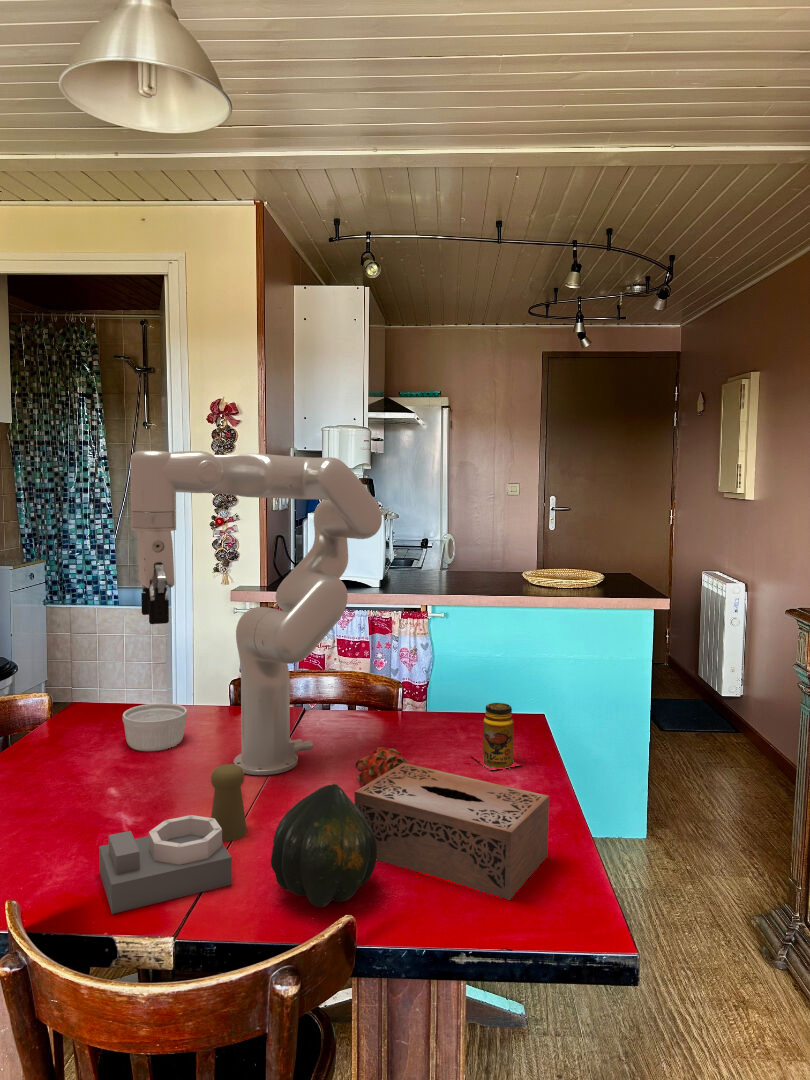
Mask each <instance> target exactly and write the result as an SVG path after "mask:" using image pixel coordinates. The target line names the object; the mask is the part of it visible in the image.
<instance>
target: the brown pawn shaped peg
mask: <svg viewBox="0 0 810 1080" xmlns="http://www.w3.org/2000/svg"><path fill="white" fill-rule="evenodd" d="M210 777H211V778H210V779H211V780H210V782H211V785H212V787H213V788H214V790H213V793H214V794H213V799H212V801H213V802H212V808H211V817H210V818H215V820H216V821H217V823H218V824H219V825H220V827H221V828H222V843H223V842H224V843H225V842H227V843H228V842H233V841H237V839H238V840H240V839H242V838H243V837H245V836H246V835H247V833H248V830H247V829H248V827H247V821H246V814H245V807H244V800H243V794H242V793H243V792H242V787H241V786H242V785H243V784H244V780H245V773H244V772H243V770H242V768H241V767H240V766H238V765H235V764H234V763H225V764H221V765H219V766H217V767H215V768H214V769H213V770H212V772H211V776H210Z"/></svg>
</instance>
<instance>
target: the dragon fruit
mask: <svg viewBox="0 0 810 1080" xmlns="http://www.w3.org/2000/svg"><path fill="white" fill-rule="evenodd" d="M376 749H377V750H376ZM376 749H375V750H374V751H373V752H372V754H369V755H367V756H364V757H362V758H360V759H358V760H357V761H356V762H355V765H354V766H355V769H357V771H358V772H361V773H359V774H357V773H356V779H357V783H359V784H362V783H364V784H365V785H367V784H368V783H370V782H372V781H373V780H375V779H377V778H378V777H380V776H382V775H383V774H385V773H387V772H388V771H390V770H392V769H393V768H395V767H397V766H398V765H400V764H402V763H403V762H404V763H408V764H410V762H408V760H407V758H405V757H403V755H402V753H401V752H399V751H398V750H397V749H394V748H388V747H377V748H376Z"/></svg>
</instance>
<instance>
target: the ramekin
mask: <svg viewBox="0 0 810 1080" xmlns="http://www.w3.org/2000/svg"><path fill="white" fill-rule="evenodd" d="M187 717H188V710H187V708H186V707H185V706H183V705H180V704H176V703H167V702H166V703H165V702H156V703H155V702H154V703H149V704H148V703H145V704H141V705H138V706H137V705H136V706H133V707H130V708H129V709H126V710H125V711H124V712H123V714H122V722H123V727H124V733H125V740H126V742H127V745H128V747H130V748H131V749H132V750H134V751H135V750H136V751H140V752H158V751H165V750H169V749H171V747H172V748H174V747H176V746H178V745H180V743H181V742H182V740H183V738H184V735H185V731H186V728H185V727H186V719H187ZM177 744H178V745H177ZM168 748H169V749H168Z"/></svg>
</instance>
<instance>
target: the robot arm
mask: <svg viewBox="0 0 810 1080" xmlns="http://www.w3.org/2000/svg"><path fill="white" fill-rule="evenodd" d="M129 465H130V467H129V469H130V526H131V528H130V529H131V531H134V532H137V537H138V538H137V552H138V553H137V554H138V555H137V557H138V558H137V559H138V575H139V577H138V579H139V582H140V583H141V584H142V586H141V587H142V588H141V590H142V591H141V596H140V597H141V604H140V605H141V614H142V615H143V616H148V623H149V624H150V625H163V624H165V625H166V624H168V623H169V622H170V605H169V603H170V601H169V591H168V587H169V588H173V587H174V586H175V584H176V583H175V566H174V565H175V564H174V561H175V560H174V548H173V547H174V546H173V545H174V544H173V535H172V531H174V532H175V531H177V493H190V494H216V495H217V494H220V495H221V494H222V495H231V496H238V497H243V498H260V499H289V500H290V499H293V500H322V501H320V502H319V503H318V504H317V506H316V507H315V510H314V512H313V526H314V540H313V544H312V547H311V548H310V549H309V551H308V552H307V553H306V555H305V556H304V557H303V559H301V560H300V562H299V563H298V564H296V566H295V567H294V568H293V569H292V570H291V571H290V572H289V573H288V575H286V576H285V578H283V580H282V581H281V583H280V584H279V586H278V587H277V589H276V593H275V601H276V604H277V605H278V608H280V609H277V608H272V607H267V606H259V607H253V608H251V609H248V610H246V612H244V613H243V614H242V615H241V617H240V618H239V620H238V622H237V624H236V629H235V640H236V646H237V647H236V648H237V651H238V658H239V663H240V664H239V665H240V666H239V667H240V705H241V706H240V707H241V711H240V712H241V713H240V716H241V717H240V719H241V720H240V722H241V729H240V730H241V731H240V734H241V752H240V753H239V754H238V755H236V756H235V758H234V759H233V764H235V765H238V766H240V767H241V768H242V770H243V772H244V775H245V774H246V775H251V776H271V775H277V774H282V773H285V772H289V771H291V770H292V769H294V768H295V767H296V766H297V765H298V760H299V759H298V758H299V757H298V754H299V752H306V751H312V750H313V749H314V743H313V740H312V739H310V740H304V741H303V739H302V738H300V739H294V740H293V739H291V737H290V734H291V733H290V729H291V728H290V724H291V723H290V722H291V721H290V720H291V719H290V718H291V717H290V711H291V710H290V698H291V697H290V696H291V695H290V690H291V689H290V688H291V686H290V685H291V684H290V683H291V681H290V680H291V679H290V670H289V665H290V664H297V663H299V662H301V661H303V660H305V659H306V658H307V657H308V656H310V655H311V654H312V653H313V651H314V650H315V649H316V648H317V647H318V646H319V644H320V643H322V641H323V640H324V638H325V637H326V636H327V635H328V634H329V633H330V631H331V630H332V629H333V628H334V627H335V626H336V625H337V623H338V622H339V621H340V619H341V618H342V617H343V615H344V613H345V610H346V608H347V604H348V599H349V598H348V597H349V596H348V589H347V587H346V585H345V583H344V582H343V581H342V580H341V579H340V578H341V577H342V576H343V575H344V573H345V571H346V569H347V567H348V564H349V548H348V547H349V544H348V539H357V540H365V539H369V538H372V537H374V536H375V535H376V534H377V533H378V532H379V531H380V529H381V526H382V523H383V515H382V511H381V508H380V506H379V504H378V503H377V501H376V499H375V498H374V496H373V495H372V494H371V493H370V492H369V491H368V489H367V488H366V487H365V485H364V483H363V482H362V481H361V480H360V478H358V476H357V475H356V473H355V472H354V471H353V470H352V469H351V468H350V467H349V466H348V465H347V464H346V463H345V462H344V461H342V460H340V459H339V458H336V457H310V456H309V457H307V456H305V457H304V456H291V455H280V454H279V455H278V454H269V453H268V454H267V453H242V454H241V453H240V454H212V453H210V452H207V451H202V450H196V451H195V450H187V451H183V450H182V451H173V452H169V451H166V450H165V451H163V450H137V451H135V452H134V453H132V454H131V456H130V462H129ZM288 664H289V665H288Z"/></svg>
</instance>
